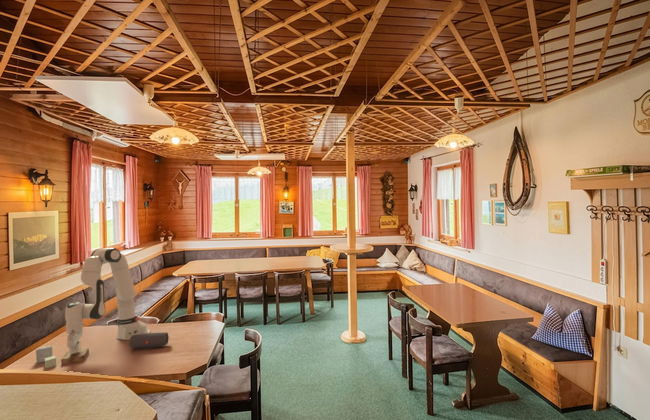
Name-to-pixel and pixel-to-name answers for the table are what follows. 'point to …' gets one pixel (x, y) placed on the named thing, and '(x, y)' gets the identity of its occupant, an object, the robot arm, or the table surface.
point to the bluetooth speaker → (148, 340)
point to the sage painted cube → (50, 361)
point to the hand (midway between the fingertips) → (75, 348)
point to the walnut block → (75, 357)
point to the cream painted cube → (78, 348)
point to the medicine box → (43, 353)
